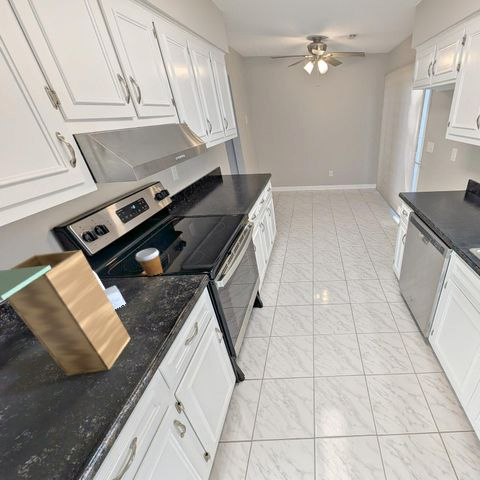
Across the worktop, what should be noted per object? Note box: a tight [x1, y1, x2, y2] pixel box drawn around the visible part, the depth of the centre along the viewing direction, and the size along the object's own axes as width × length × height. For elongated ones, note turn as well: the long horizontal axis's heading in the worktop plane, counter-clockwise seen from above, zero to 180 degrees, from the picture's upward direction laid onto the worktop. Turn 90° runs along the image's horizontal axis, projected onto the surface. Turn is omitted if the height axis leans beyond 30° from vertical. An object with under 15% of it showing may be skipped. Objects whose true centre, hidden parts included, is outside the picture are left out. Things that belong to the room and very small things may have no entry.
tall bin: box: [5, 249, 131, 377], centre depth 73 cm, size 12×12×35 cm
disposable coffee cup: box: [135, 247, 163, 277], centre depth 121 cm, size 10×10×12 cm
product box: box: [104, 285, 127, 311], centre depth 102 cm, size 6×6×7 cm
